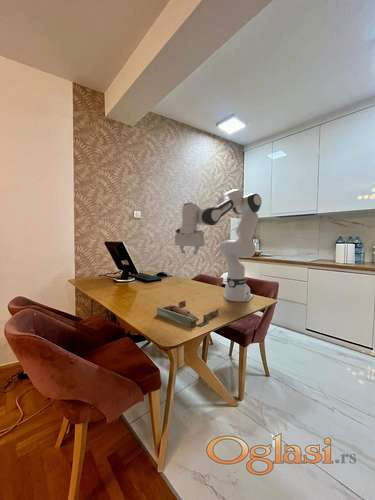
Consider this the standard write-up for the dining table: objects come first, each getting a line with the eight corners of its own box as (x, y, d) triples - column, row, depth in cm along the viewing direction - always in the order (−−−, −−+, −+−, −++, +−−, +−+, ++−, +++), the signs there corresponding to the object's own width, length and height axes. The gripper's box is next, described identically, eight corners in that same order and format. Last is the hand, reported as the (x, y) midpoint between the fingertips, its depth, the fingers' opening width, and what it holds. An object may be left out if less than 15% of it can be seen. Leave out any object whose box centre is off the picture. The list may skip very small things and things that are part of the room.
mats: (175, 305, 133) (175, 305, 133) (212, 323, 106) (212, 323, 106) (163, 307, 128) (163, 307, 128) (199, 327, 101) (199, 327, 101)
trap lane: (184, 305, 133) (184, 298, 133) (218, 314, 118) (218, 307, 118) (156, 315, 117) (156, 307, 116) (192, 327, 101) (192, 319, 101)
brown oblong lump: (201, 320, 110) (195, 309, 108) (190, 329, 107) (184, 319, 105) (182, 309, 125) (177, 300, 123) (173, 317, 122) (167, 308, 120)
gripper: (206, 230, 125) (206, 254, 126) (180, 230, 138) (180, 252, 139) (200, 230, 120) (199, 255, 121) (173, 230, 133) (173, 253, 134)
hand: (189, 253), depth 130 cm, fingers open, 8 cm apart
